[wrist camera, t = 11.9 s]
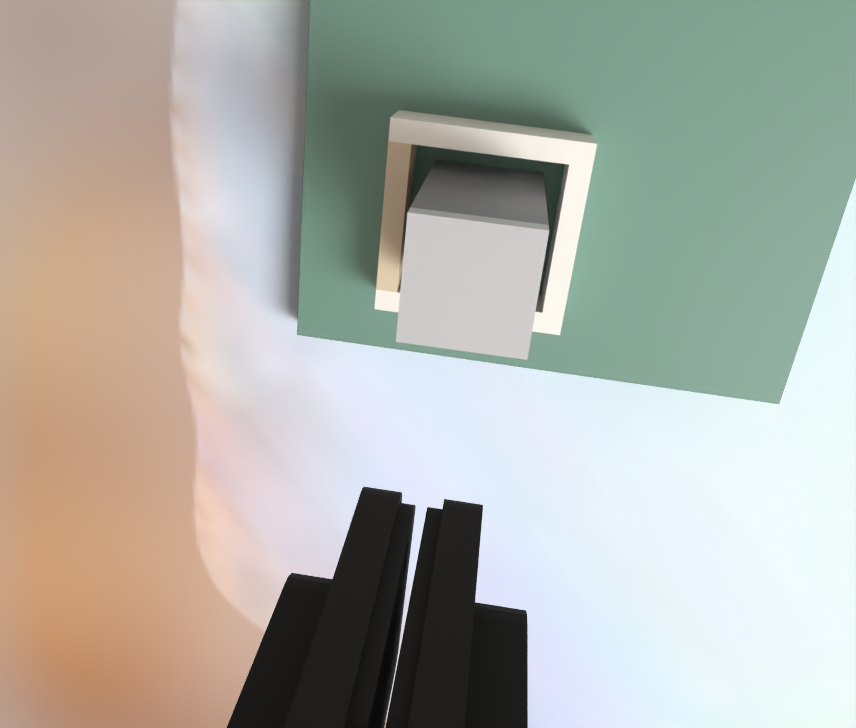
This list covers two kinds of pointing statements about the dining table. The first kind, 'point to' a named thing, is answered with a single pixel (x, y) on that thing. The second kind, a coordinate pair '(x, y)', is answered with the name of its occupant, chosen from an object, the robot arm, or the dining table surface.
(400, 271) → the board
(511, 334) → the plug
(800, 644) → the dining table surface
